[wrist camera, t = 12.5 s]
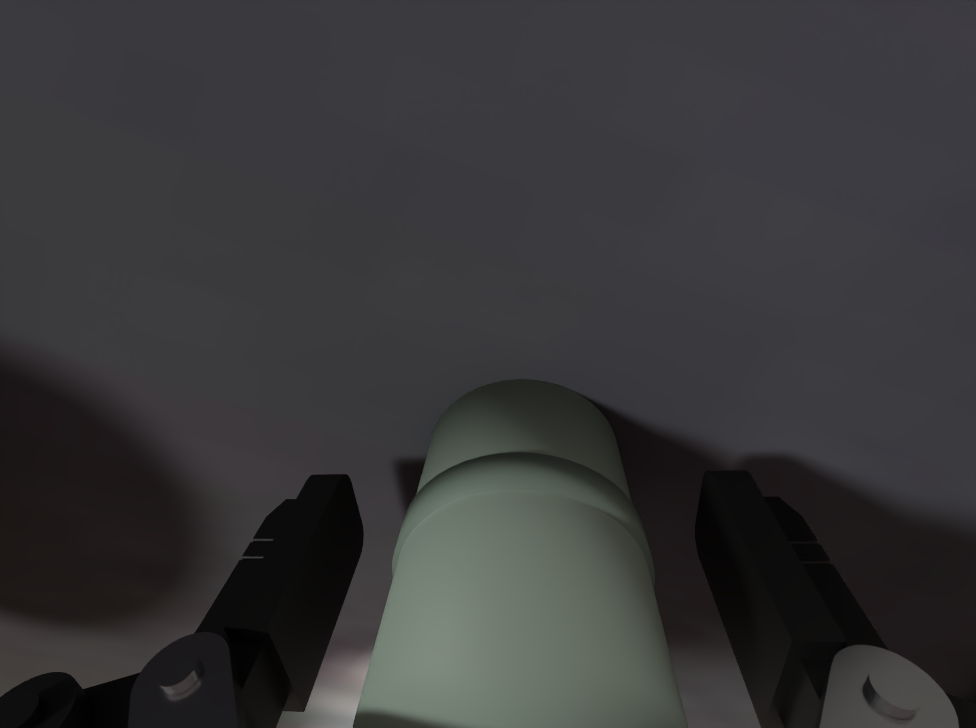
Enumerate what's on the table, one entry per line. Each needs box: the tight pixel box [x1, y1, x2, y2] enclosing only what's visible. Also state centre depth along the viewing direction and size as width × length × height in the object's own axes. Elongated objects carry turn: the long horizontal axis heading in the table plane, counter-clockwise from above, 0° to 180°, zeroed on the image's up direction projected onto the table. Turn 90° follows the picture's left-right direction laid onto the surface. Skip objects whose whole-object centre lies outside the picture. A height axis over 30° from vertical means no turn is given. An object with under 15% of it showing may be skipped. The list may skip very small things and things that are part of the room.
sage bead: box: [353, 379, 688, 728], centre depth 9 cm, size 5×5×6 cm
